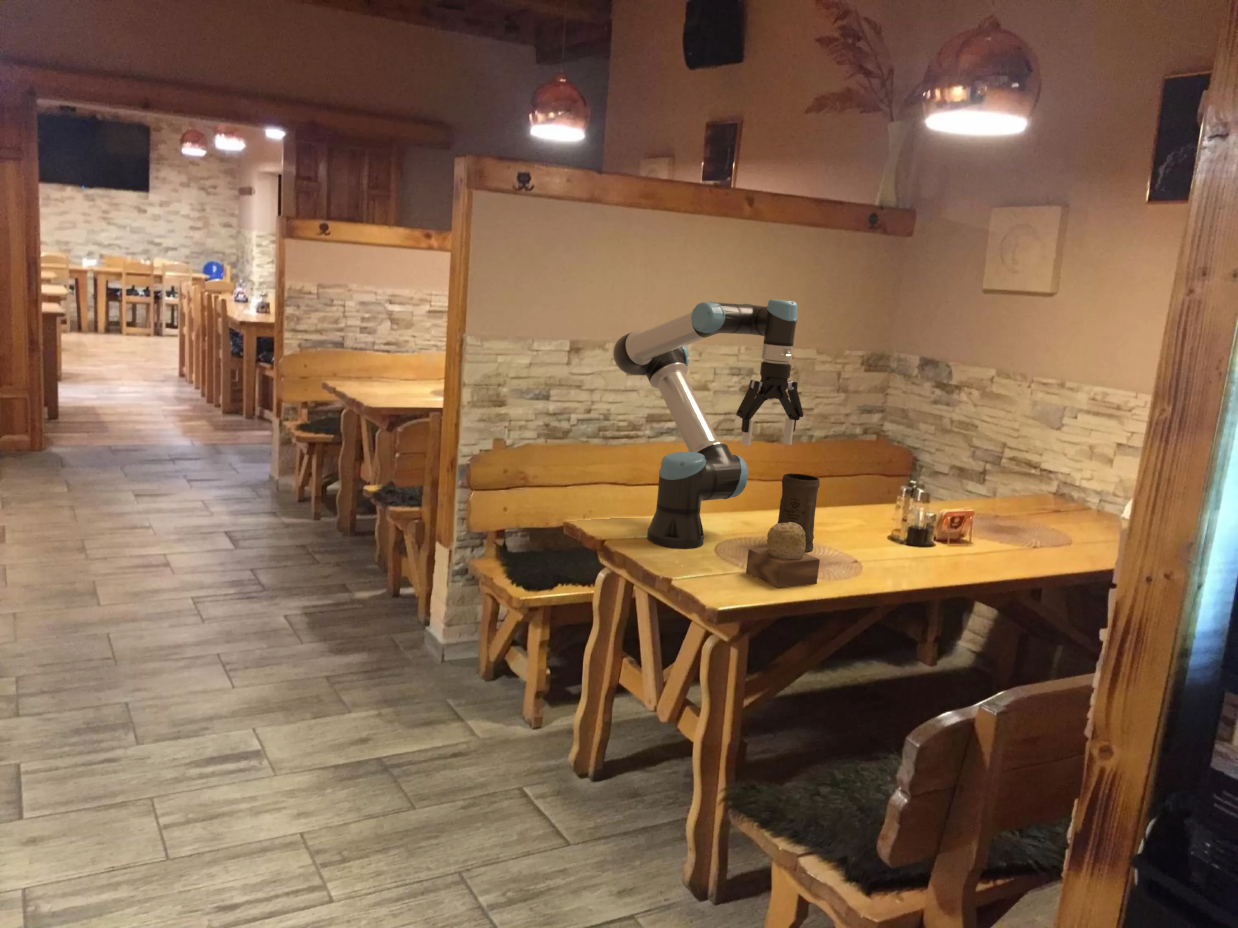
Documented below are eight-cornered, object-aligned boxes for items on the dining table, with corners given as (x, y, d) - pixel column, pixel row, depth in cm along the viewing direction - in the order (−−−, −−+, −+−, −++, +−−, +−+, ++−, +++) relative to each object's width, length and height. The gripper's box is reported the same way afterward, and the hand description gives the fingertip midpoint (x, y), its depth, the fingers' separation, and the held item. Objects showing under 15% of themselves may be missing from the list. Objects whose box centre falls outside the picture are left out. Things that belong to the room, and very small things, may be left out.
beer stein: (812, 555, 257) (822, 480, 254) (772, 549, 259) (781, 475, 256) (812, 544, 272) (822, 474, 269) (774, 539, 274) (782, 469, 271)
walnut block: (745, 572, 236) (748, 549, 235) (783, 568, 243) (786, 545, 241) (778, 588, 226) (781, 563, 225) (816, 583, 233) (819, 559, 232)
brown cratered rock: (794, 562, 227) (798, 530, 226) (759, 553, 232) (762, 522, 231) (810, 554, 235) (814, 524, 233) (776, 546, 240) (779, 516, 238)
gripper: (746, 362, 236) (737, 448, 240) (823, 364, 249) (813, 446, 253) (728, 358, 242) (719, 442, 246) (803, 361, 255) (794, 441, 259)
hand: (766, 444), depth 250 cm, fingers open, 13 cm apart
